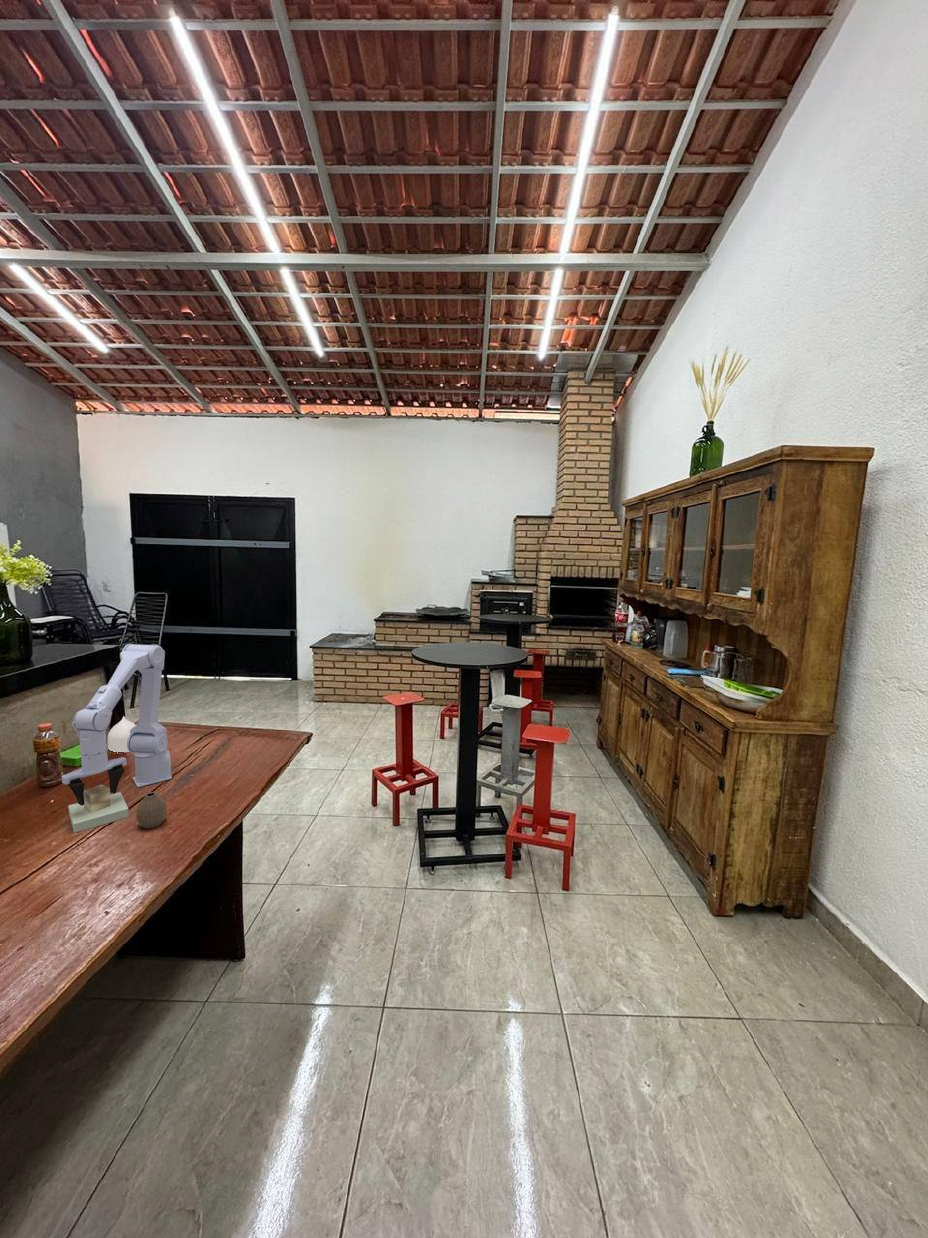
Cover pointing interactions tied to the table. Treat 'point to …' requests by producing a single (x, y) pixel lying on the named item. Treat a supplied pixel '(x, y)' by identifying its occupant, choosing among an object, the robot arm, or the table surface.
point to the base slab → (98, 814)
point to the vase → (151, 811)
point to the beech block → (97, 798)
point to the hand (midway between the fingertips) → (97, 798)
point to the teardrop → (120, 736)
